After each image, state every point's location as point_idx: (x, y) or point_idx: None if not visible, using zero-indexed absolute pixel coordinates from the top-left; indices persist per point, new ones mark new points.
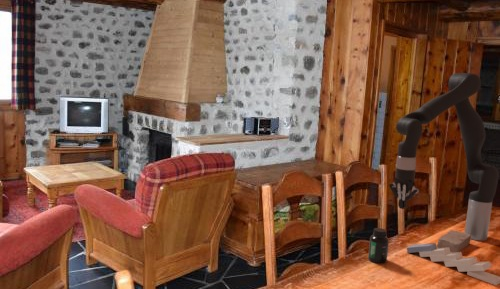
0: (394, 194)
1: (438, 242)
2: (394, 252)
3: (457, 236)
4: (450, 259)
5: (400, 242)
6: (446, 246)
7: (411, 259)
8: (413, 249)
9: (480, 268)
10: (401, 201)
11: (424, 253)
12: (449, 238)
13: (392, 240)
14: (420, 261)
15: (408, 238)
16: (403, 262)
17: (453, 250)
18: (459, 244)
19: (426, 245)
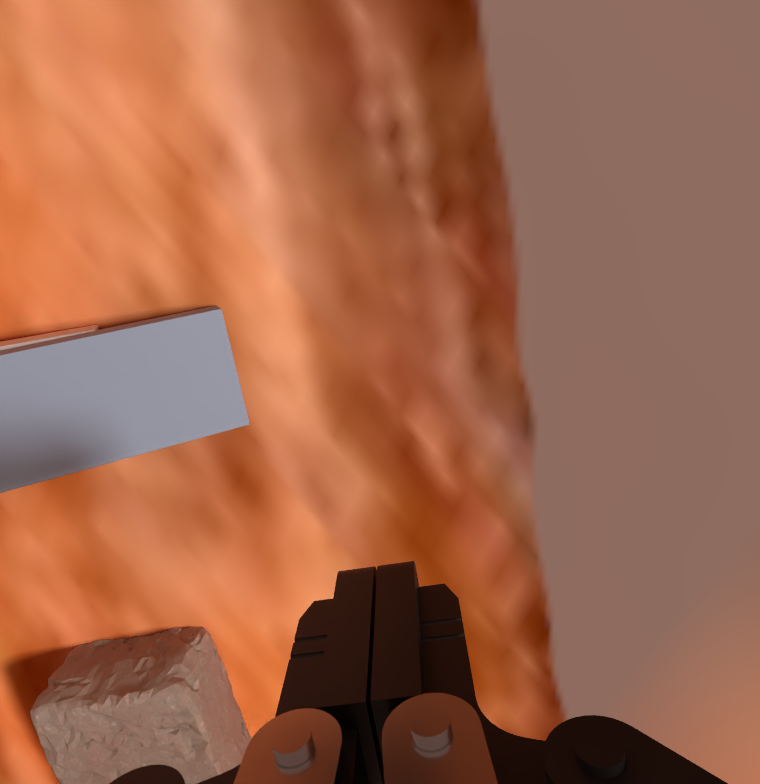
0: (677, 780)
1: (183, 658)
2: (274, 194)
3: None
4: None
5: (422, 452)
6: (121, 659)
7: (90, 207)
8: (146, 321)
9: None
10: (366, 673)
11: (38, 337)
12: (147, 765)
13: (492, 426)
14: (29, 247)
15: (453, 590)
16: (60, 67)
17: (73, 657)
18: (41, 736)
19: (8, 385)
